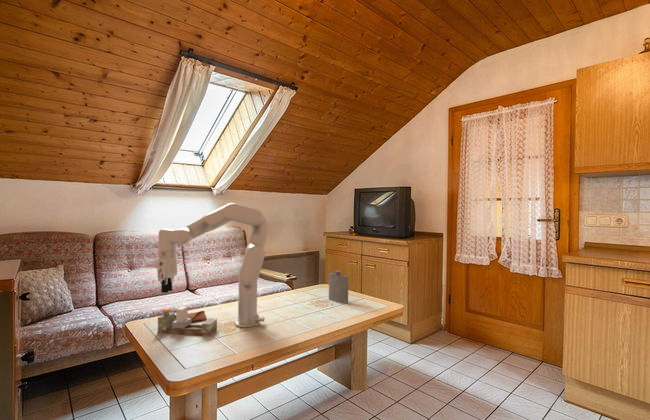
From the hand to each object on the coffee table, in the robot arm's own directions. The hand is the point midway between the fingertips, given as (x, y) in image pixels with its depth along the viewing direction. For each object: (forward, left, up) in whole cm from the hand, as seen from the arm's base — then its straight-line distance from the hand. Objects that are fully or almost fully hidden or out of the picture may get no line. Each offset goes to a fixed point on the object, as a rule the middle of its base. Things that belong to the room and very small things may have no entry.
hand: (166, 291), depth 164 cm
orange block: (0, 0, -14) cm, 14 cm away
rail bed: (-11, 0, -19) cm, 22 cm away
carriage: (-8, 0, -16) cm, 18 cm away
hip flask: (-80, -62, -19) cm, 103 cm away
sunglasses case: (-5, -14, -20) cm, 25 cm away
